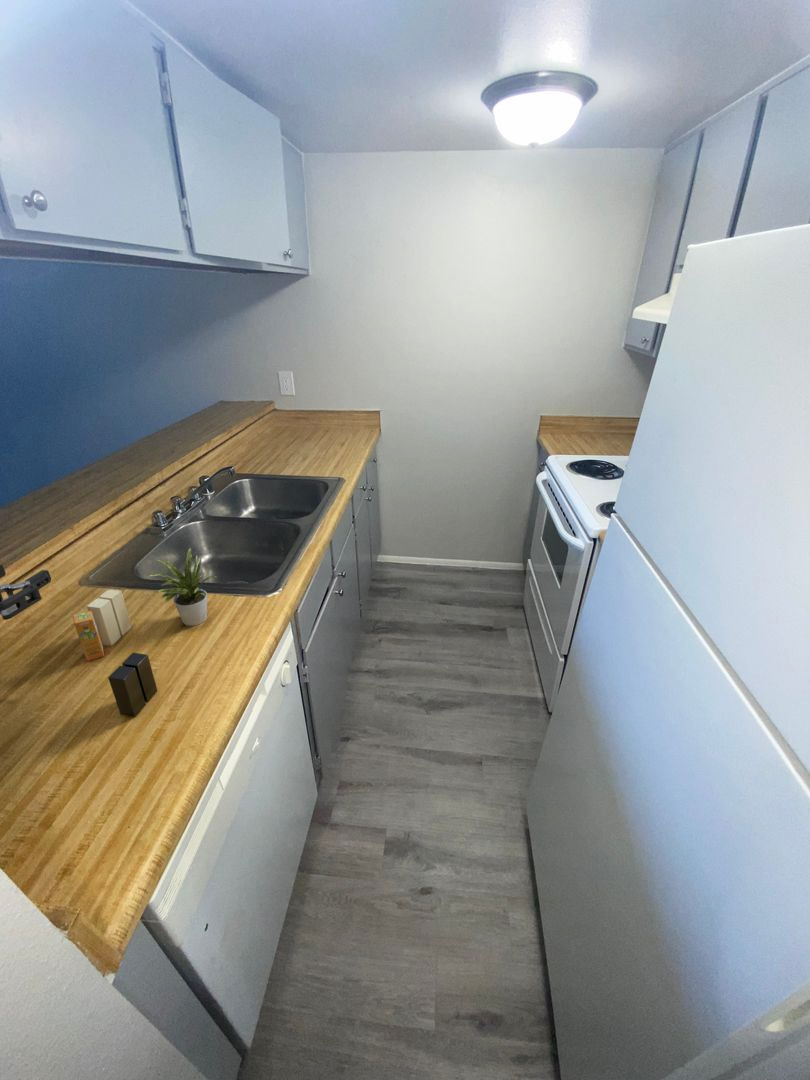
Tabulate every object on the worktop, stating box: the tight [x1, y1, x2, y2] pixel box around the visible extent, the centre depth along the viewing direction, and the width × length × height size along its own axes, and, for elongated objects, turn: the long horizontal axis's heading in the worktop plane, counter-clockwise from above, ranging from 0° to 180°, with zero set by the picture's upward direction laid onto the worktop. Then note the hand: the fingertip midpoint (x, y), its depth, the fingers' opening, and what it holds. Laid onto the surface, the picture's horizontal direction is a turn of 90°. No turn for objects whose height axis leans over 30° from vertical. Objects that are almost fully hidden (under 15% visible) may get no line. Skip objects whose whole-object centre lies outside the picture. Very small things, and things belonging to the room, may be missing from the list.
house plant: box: [145, 547, 216, 627], centre depth 107 cm, size 14×14×16 cm
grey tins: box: [107, 652, 158, 718], centre depth 86 cm, size 6×3×9 cm, turn 171°
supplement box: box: [72, 610, 105, 662], centre depth 96 cm, size 3×3×10 cm
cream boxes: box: [86, 588, 132, 647], centre depth 102 cm, size 6×3×10 cm, turn 171°
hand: (24, 571), depth 78 cm, fingers open, 8 cm apart
